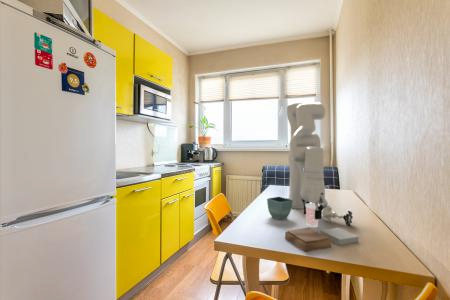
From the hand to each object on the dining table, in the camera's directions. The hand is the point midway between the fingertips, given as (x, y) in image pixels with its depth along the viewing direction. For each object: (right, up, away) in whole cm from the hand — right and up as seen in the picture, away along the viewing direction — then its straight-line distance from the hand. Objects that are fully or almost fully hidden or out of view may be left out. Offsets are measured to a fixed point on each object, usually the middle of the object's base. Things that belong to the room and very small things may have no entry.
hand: (312, 216), depth 96 cm
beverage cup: (0, -4, 0) cm, 4 cm away
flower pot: (-12, -4, +9) cm, 16 cm away
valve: (+13, -5, +5) cm, 14 cm away
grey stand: (+5, -4, -13) cm, 15 cm away
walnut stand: (-9, -4, -17) cm, 20 cm away
